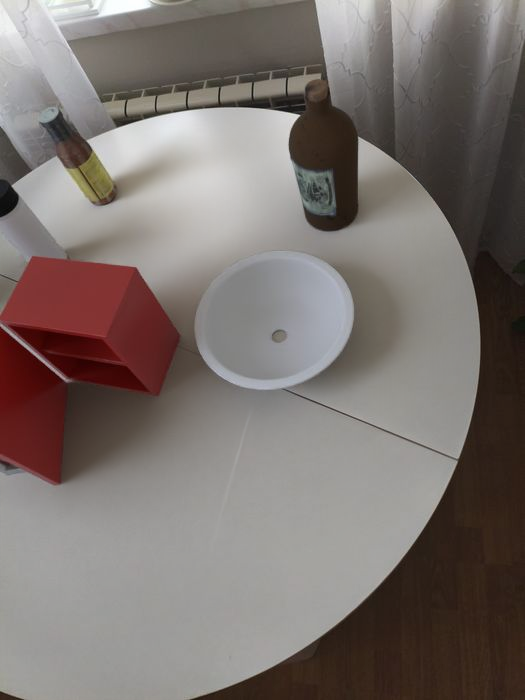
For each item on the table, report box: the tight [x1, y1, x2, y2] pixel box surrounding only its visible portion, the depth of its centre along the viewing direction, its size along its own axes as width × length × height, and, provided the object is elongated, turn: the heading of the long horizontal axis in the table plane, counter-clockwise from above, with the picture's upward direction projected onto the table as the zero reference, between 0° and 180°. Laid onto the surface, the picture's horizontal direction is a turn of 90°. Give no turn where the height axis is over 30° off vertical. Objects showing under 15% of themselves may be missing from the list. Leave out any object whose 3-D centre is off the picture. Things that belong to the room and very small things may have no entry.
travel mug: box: [0, 178, 70, 264], centre depth 96 cm, size 6×7×20 cm
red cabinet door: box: [0, 326, 68, 486], centre depth 79 cm, size 6×17×19 cm, turn 6°
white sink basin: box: [193, 250, 355, 391], centre depth 85 cm, size 24×24×7 cm
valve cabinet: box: [0, 256, 182, 397], centre depth 83 cm, size 11×17×19 cm, turn 75°
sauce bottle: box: [37, 106, 117, 206], centre depth 102 cm, size 7×6×20 cm
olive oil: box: [287, 78, 359, 232], centre depth 87 cm, size 11×11×25 cm
